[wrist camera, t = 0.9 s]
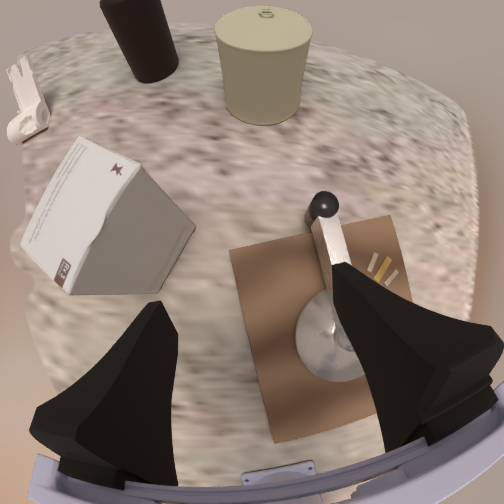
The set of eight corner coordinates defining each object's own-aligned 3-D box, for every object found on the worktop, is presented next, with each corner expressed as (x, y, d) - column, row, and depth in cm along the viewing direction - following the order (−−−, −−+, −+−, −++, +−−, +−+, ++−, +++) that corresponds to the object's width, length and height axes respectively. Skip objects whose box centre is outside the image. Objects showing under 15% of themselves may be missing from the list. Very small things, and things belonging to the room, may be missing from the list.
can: (299, 77, 31) (311, 6, 19) (299, 129, 29) (316, 52, 17) (230, 72, 31) (222, 1, 19) (219, 123, 29) (203, 46, 18)
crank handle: (389, 361, 23) (413, 371, 19) (304, 389, 23) (314, 407, 19) (352, 201, 26) (369, 183, 22) (265, 218, 26) (267, 201, 21)
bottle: (127, 82, 31) (73, -18, 12) (150, 54, 32) (112, -43, 13) (165, 85, 31) (118, -33, 11) (187, 55, 32) (158, -54, 12)
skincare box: (154, 202, 28) (80, 126, 13) (200, 228, 27) (145, 156, 13) (114, 269, 27) (13, 241, 12) (157, 300, 26) (63, 297, 12)
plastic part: (18, 148, 31) (-23, 117, 19) (31, 106, 32) (-2, 73, 21) (47, 131, 31) (6, 94, 19) (59, 89, 32) (27, 51, 21)
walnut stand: (419, 389, 24) (424, 392, 23) (273, 439, 23) (274, 444, 22) (386, 217, 27) (391, 214, 26) (230, 252, 27) (228, 249, 26)
